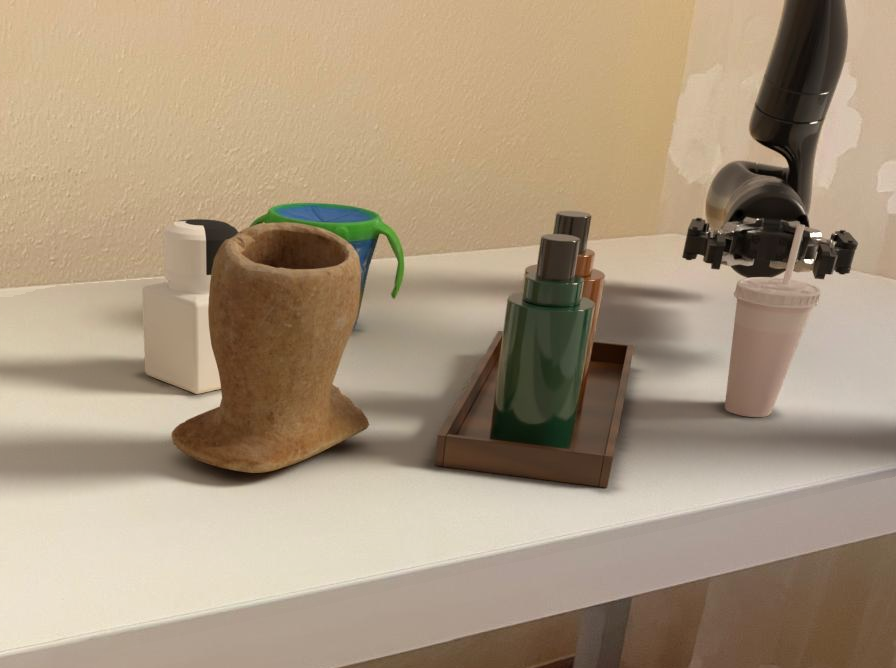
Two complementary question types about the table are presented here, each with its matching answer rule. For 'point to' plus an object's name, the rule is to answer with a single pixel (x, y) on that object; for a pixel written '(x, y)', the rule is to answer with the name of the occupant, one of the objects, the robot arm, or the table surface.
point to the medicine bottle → (184, 307)
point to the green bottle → (543, 350)
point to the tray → (582, 464)
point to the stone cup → (277, 349)
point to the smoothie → (766, 336)
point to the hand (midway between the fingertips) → (770, 261)
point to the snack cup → (343, 231)
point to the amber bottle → (581, 273)
